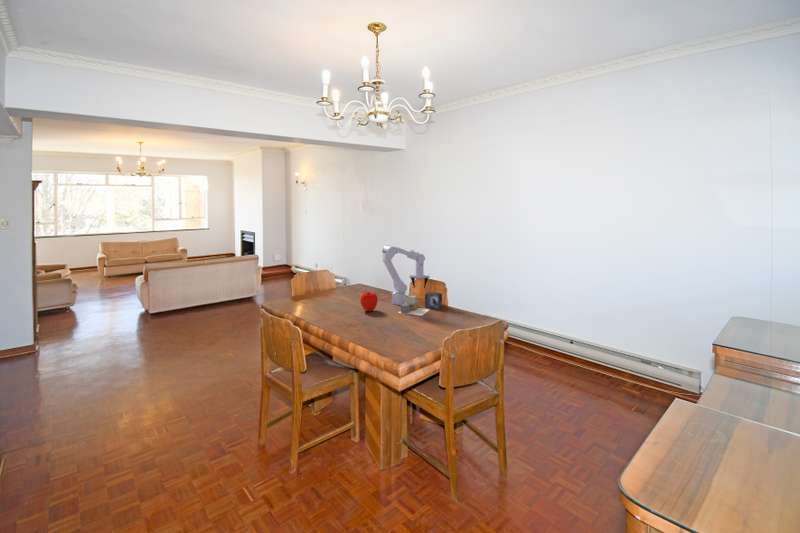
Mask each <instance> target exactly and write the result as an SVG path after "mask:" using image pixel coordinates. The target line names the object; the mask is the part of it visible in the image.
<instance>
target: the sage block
mask: <svg viewBox="0 0 800 533" xmlns="http://www.w3.org/2000/svg"><path fill="white" fill-rule="evenodd" d="M406 302H407V304H410V305H414V304H416V303H417V295H408V296H406Z"/></svg>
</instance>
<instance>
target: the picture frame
mask: <svg viewBox="0 0 800 533" xmlns="http://www.w3.org/2000/svg"><path fill="white" fill-rule="evenodd" d="M424 296H425V297H424V308H425V309H433V310H434V309H435V310H440V309H442V307H443V306H442V305H443V304H442V303H443V301H442V300H443V293H440V292H435V291H434V292H432V291H428V292H426V293H425V295H424Z"/></svg>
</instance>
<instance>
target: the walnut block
mask: <svg viewBox="0 0 800 533" xmlns="http://www.w3.org/2000/svg"><path fill="white" fill-rule="evenodd" d="M406 304H407V303H406ZM418 308H419V302H416V304H414V305H410V311H415V310H417V309H418Z"/></svg>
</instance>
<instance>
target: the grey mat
mask: <svg viewBox="0 0 800 533" xmlns="http://www.w3.org/2000/svg"><path fill="white" fill-rule="evenodd" d="M430 310H431V308H419V307H418V309H417V310H415V311H410V312H409V313H403V314H405V315H412V316H422V317H423V315H425V314H427V313H428V312H429V311H430ZM398 314H402V313H401V310H400V311H398Z"/></svg>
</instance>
